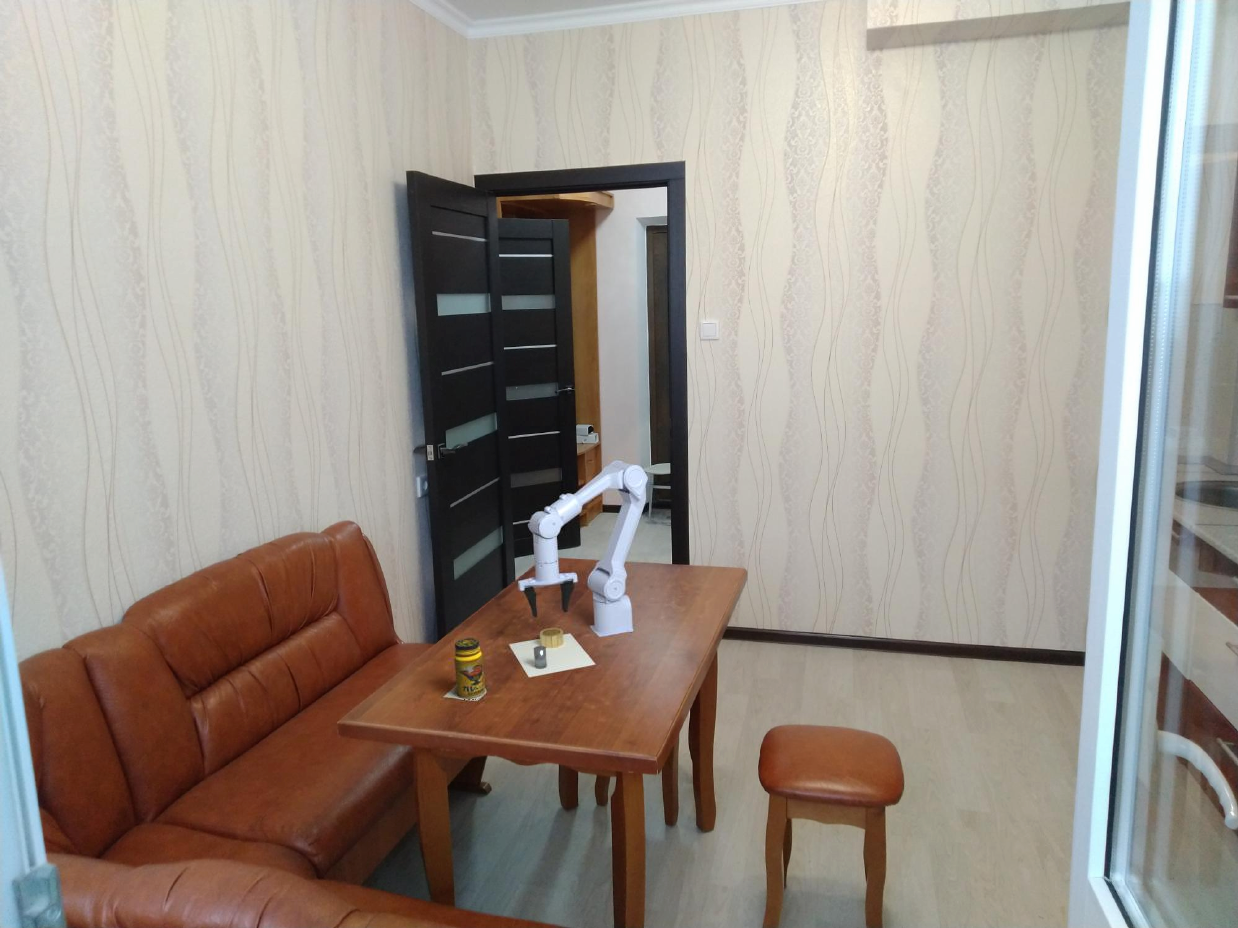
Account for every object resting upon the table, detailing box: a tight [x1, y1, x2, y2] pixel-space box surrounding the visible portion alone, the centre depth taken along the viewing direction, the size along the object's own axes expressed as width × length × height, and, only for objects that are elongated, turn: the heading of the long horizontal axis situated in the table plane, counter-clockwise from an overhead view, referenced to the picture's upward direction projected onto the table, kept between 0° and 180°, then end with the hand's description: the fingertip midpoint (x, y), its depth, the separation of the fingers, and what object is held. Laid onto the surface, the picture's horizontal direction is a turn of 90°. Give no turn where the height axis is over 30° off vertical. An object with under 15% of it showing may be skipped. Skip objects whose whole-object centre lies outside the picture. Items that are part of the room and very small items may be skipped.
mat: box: [508, 633, 596, 678], centre depth 206 cm, size 16×21×1 cm
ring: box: [539, 627, 564, 648], centre depth 212 cm, size 6×6×3 cm
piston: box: [534, 646, 547, 669], centre depth 198 cm, size 3×3×4 cm
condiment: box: [443, 637, 488, 702], centre depth 187 cm, size 7×8×12 cm
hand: (549, 613), depth 210 cm, fingers open, 7 cm apart
